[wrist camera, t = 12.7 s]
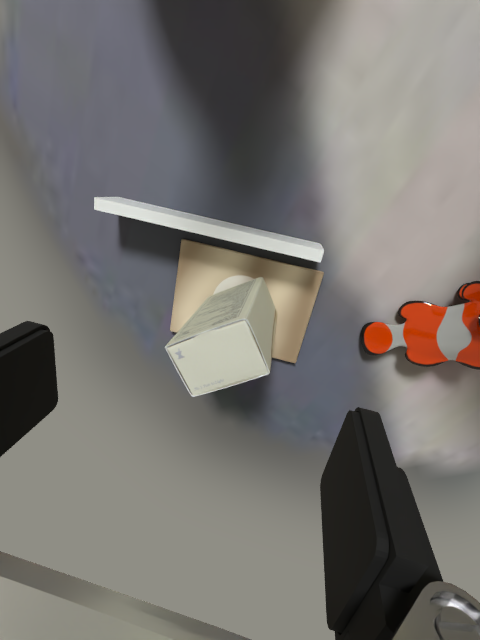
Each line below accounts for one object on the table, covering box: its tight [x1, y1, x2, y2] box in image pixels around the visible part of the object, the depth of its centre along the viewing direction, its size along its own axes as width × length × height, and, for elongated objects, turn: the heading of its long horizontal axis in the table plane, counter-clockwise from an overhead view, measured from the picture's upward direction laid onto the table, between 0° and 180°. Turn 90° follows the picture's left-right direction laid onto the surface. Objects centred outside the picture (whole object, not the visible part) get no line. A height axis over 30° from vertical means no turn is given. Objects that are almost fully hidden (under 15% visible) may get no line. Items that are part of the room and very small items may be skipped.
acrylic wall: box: [94, 197, 324, 263], centre depth 29 cm, size 20×1×4 cm, turn 78°
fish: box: [361, 281, 480, 370], centre depth 28 cm, size 13×5×9 cm
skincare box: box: [165, 277, 277, 397], centre depth 27 cm, size 6×4×12 cm
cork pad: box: [170, 239, 324, 363], centre depth 33 cm, size 14×10×1 cm
